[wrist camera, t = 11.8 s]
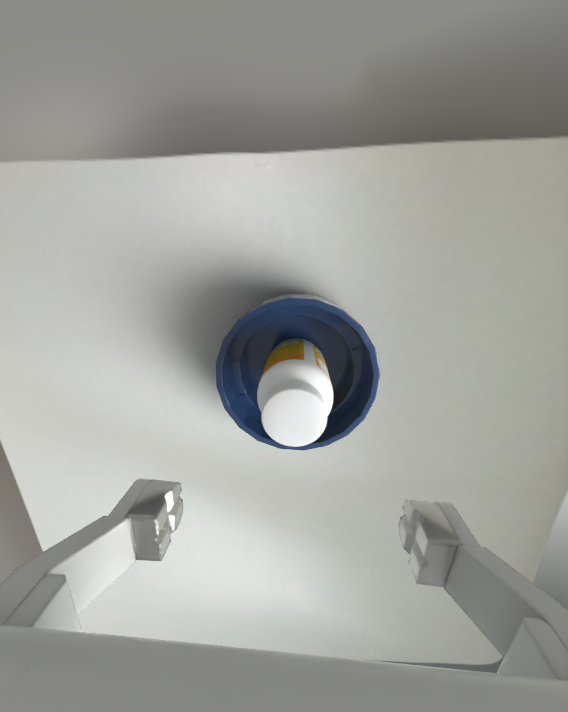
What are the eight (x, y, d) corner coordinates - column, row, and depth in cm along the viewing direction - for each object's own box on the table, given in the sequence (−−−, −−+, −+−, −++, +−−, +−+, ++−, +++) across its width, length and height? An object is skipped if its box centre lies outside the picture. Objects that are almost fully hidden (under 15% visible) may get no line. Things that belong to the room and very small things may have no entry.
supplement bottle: (258, 378, 26) (236, 437, 17) (281, 327, 24) (269, 362, 15) (309, 399, 26) (315, 469, 17) (335, 351, 25) (356, 400, 15)
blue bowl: (228, 289, 24) (213, 293, 20) (375, 297, 24) (392, 303, 19) (230, 417, 28) (218, 444, 24) (356, 426, 28) (366, 455, 23)
